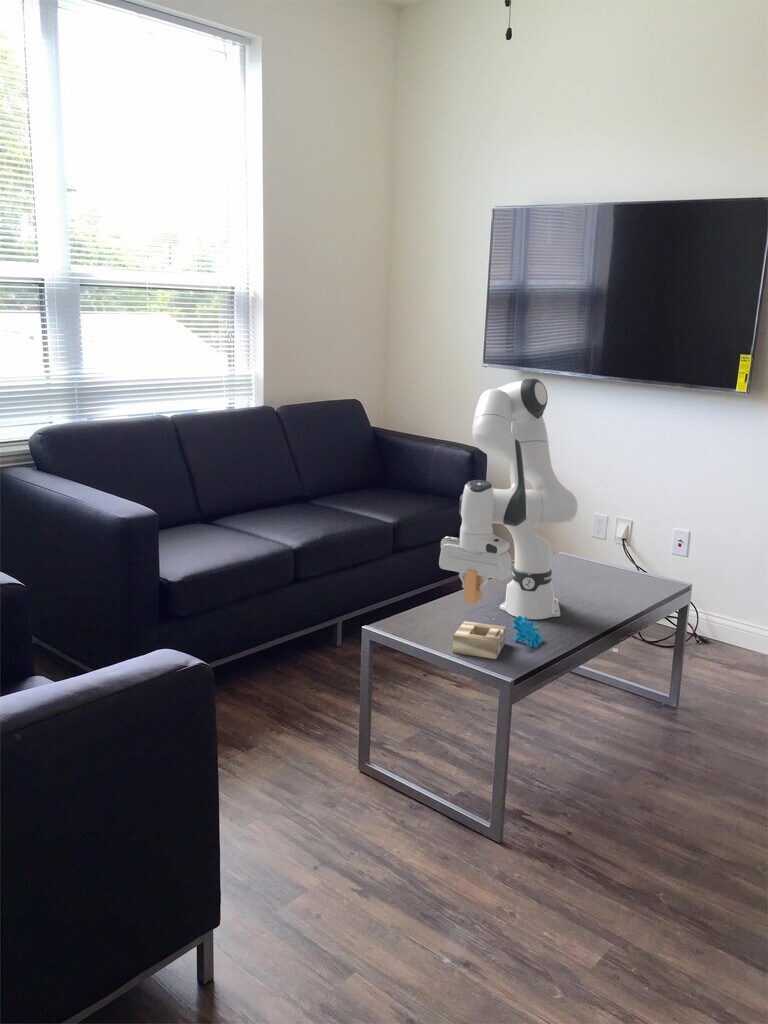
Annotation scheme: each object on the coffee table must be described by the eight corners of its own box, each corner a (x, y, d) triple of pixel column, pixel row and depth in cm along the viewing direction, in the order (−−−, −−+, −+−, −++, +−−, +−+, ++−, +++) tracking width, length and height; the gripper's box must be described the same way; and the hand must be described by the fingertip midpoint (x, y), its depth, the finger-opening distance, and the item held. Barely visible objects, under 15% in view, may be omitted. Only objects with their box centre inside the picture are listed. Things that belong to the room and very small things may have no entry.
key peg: (464, 601, 237) (465, 570, 234) (471, 596, 241) (473, 565, 239) (474, 603, 235) (475, 572, 233) (481, 598, 240) (483, 567, 237)
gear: (527, 647, 236) (510, 616, 240) (513, 658, 240) (496, 626, 244) (550, 643, 244) (533, 612, 248) (536, 653, 248) (519, 622, 252)
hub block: (463, 637, 247) (464, 620, 246) (504, 643, 244) (505, 626, 242) (452, 652, 236) (453, 634, 235) (495, 659, 232) (496, 640, 231)
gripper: (436, 537, 236) (434, 585, 239) (506, 549, 227) (503, 599, 230) (446, 532, 241) (444, 579, 245) (515, 544, 232) (512, 592, 235)
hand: (473, 589), depth 237 cm, fingers closed on key peg, 3 cm apart
